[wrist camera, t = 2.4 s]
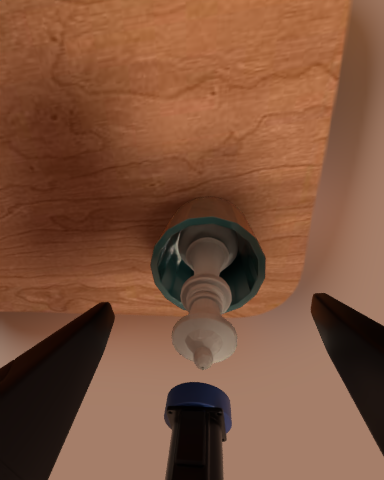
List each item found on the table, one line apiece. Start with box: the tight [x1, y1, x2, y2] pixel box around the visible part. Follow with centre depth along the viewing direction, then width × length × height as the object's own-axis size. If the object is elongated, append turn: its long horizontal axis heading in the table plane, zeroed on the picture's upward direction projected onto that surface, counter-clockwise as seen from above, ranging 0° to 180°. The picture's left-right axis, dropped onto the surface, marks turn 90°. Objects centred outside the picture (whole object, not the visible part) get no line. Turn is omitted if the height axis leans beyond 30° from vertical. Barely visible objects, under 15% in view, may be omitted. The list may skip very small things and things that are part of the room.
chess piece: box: [172, 224, 238, 370], centre depth 11 cm, size 4×4×10 cm
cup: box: [150, 197, 266, 314], centre depth 13 cm, size 6×6×5 cm
